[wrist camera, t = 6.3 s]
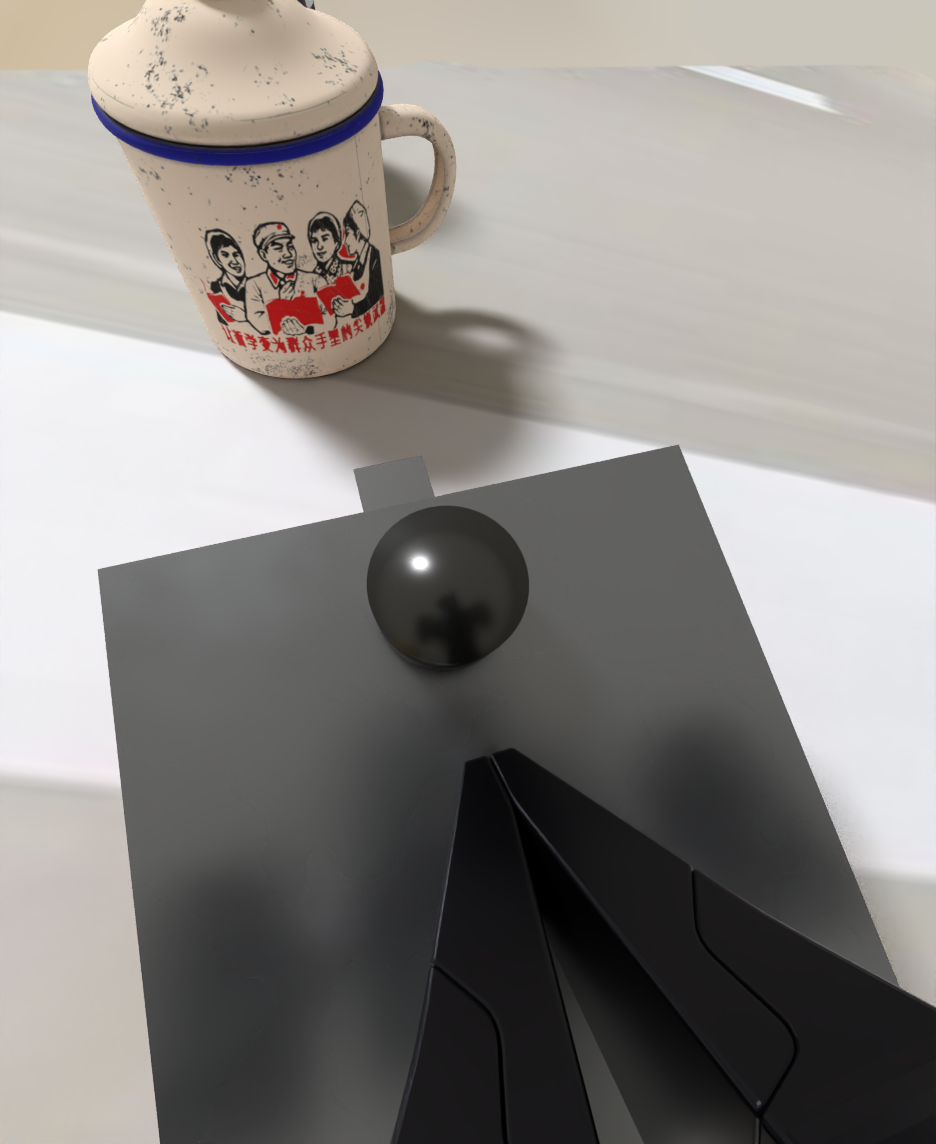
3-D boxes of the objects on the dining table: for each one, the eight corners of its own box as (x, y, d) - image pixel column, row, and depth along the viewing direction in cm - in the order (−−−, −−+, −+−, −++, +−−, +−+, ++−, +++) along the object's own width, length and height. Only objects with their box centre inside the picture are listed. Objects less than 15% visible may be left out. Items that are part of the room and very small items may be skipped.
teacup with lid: (224, 409, 21) (17, 11, 11) (190, 278, 25) (11, -112, 15) (487, 344, 24) (521, -30, 13) (421, 234, 27) (408, -127, 17)
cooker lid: (876, 1029, 9) (1057, 1153, 6) (222, 1328, 7) (115, 1670, 5) (656, 467, 11) (724, 398, 9) (130, 583, 10) (28, 539, 7)
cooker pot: (727, 959, 14) (867, 1024, 9) (309, 1131, 12) (226, 1316, 7) (539, 510, 20) (567, 417, 15) (246, 577, 18) (181, 494, 13)
